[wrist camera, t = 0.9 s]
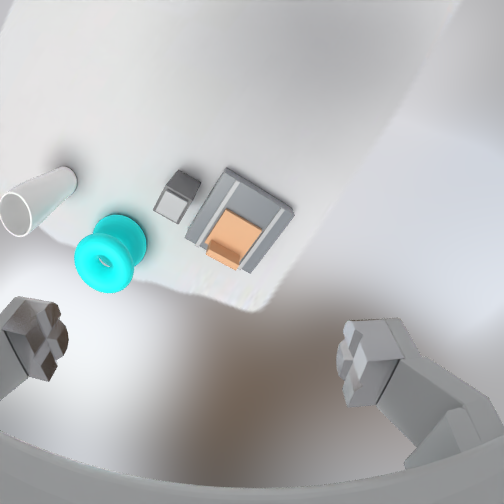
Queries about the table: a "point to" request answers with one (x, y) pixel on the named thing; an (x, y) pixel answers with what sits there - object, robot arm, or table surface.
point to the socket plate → (242, 215)
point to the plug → (177, 196)
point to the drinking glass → (35, 200)
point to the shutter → (231, 239)
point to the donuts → (110, 253)
